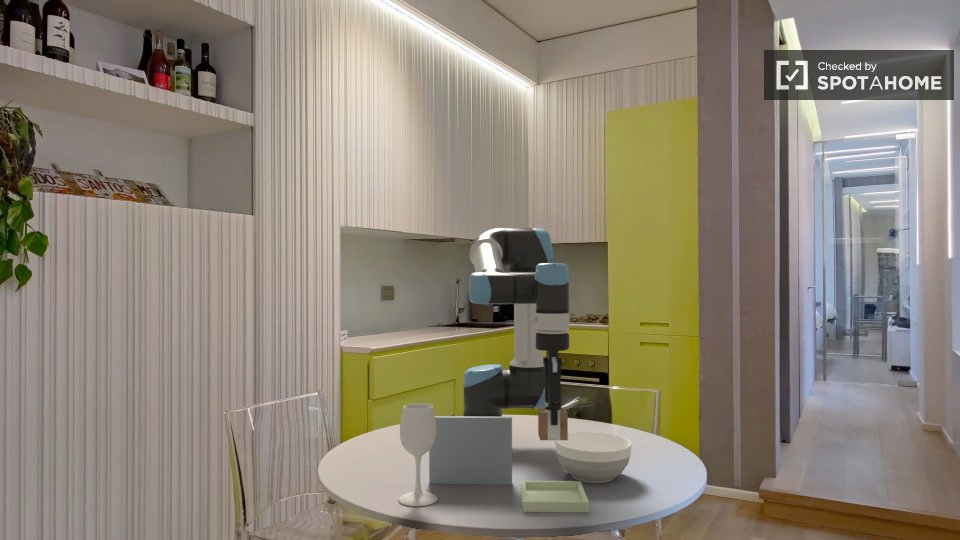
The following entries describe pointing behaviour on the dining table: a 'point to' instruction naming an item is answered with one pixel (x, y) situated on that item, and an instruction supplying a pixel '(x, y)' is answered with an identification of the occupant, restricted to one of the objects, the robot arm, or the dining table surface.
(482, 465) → the screen
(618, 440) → the bowl
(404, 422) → the wineglass
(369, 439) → the dining table surface
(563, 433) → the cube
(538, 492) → the tray
